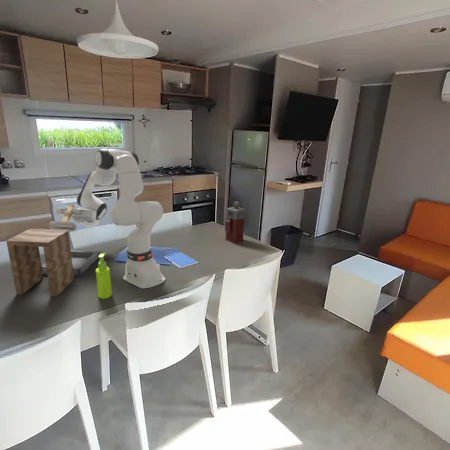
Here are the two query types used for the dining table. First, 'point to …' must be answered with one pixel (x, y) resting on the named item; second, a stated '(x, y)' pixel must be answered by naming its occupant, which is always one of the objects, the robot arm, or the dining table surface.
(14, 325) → the dining table surface
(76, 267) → the tray
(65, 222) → the scraper
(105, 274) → the soap dispenser
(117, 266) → the dining table surface
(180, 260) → the blue notebook
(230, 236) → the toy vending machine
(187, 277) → the dining table surface
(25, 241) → the walnut bench
